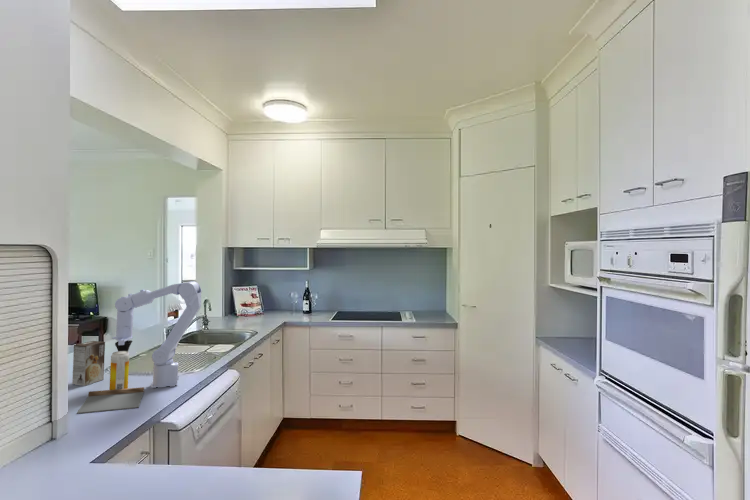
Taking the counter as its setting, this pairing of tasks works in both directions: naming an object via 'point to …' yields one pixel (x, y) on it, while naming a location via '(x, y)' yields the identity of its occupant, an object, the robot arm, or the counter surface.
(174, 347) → the robot arm
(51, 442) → the counter surface
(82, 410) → the mat
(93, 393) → the bar
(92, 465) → the counter surface
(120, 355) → the beer can
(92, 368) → the coffee box
